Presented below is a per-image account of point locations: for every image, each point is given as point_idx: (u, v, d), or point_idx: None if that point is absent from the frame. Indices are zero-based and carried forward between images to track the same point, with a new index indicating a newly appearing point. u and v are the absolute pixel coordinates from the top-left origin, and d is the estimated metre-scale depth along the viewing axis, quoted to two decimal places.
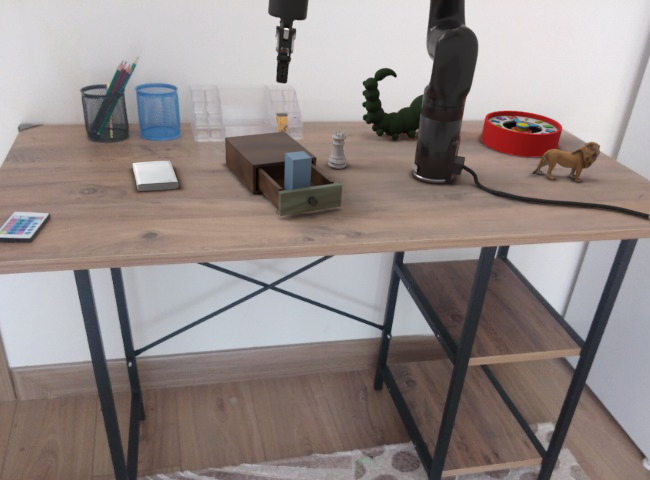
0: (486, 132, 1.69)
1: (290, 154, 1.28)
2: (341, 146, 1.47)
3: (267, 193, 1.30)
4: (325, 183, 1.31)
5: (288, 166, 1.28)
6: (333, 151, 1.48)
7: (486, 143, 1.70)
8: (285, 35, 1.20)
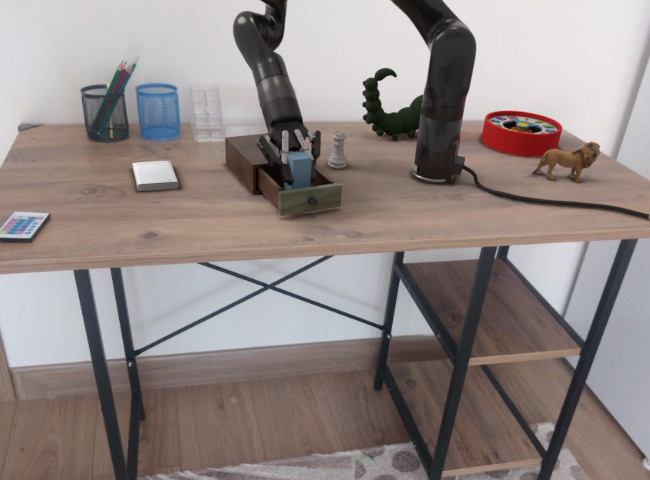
0: (486, 132, 1.69)
1: (290, 154, 1.28)
2: (341, 146, 1.47)
3: (267, 193, 1.30)
4: (325, 183, 1.31)
5: None
6: (333, 151, 1.48)
7: (486, 143, 1.70)
8: (260, 146, 1.28)
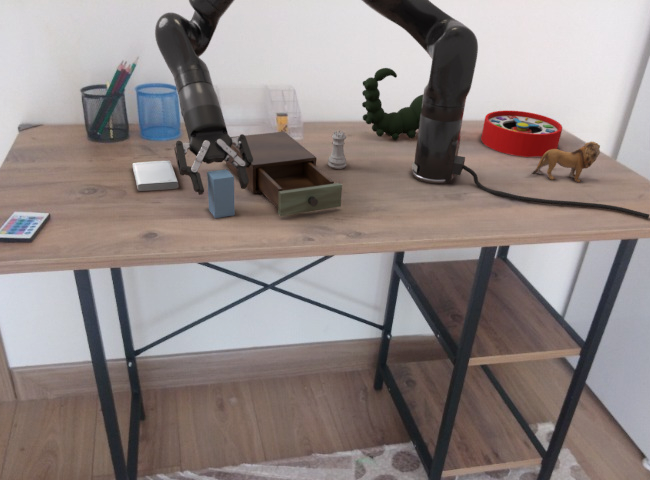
0: (486, 132, 1.69)
1: (212, 173, 1.22)
2: (341, 146, 1.47)
3: (267, 193, 1.30)
4: (325, 183, 1.31)
5: (210, 185, 1.23)
6: (333, 151, 1.48)
7: (486, 143, 1.70)
8: (175, 150, 1.22)
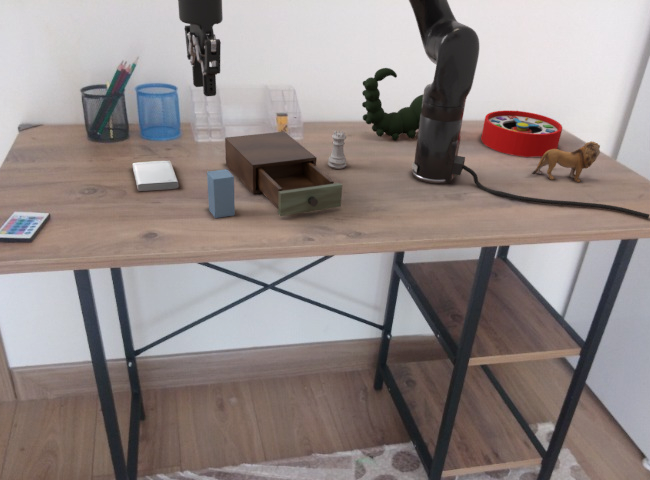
0: (486, 132, 1.69)
1: (212, 173, 1.22)
2: (341, 146, 1.47)
3: (267, 193, 1.30)
4: (325, 183, 1.31)
5: (210, 185, 1.23)
6: (333, 151, 1.48)
7: (486, 143, 1.70)
8: (213, 48, 1.11)
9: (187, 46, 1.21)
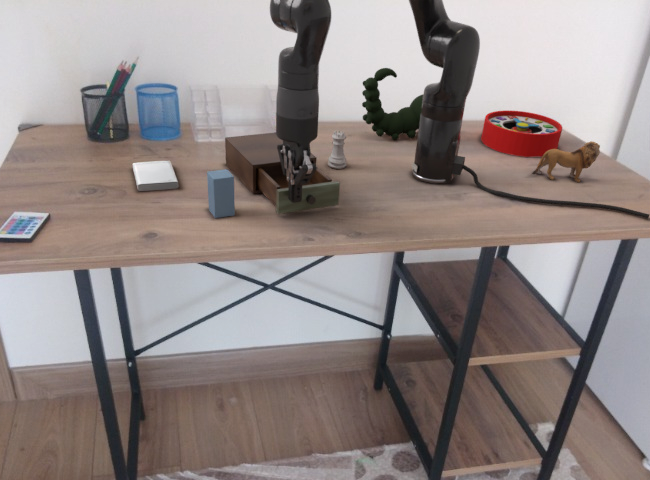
0: (486, 132, 1.69)
1: (212, 173, 1.22)
2: (341, 146, 1.47)
3: (265, 191, 1.31)
4: (323, 181, 1.32)
5: (210, 185, 1.23)
6: (333, 151, 1.48)
7: (486, 143, 1.70)
8: (308, 172, 1.15)
9: (282, 163, 1.22)
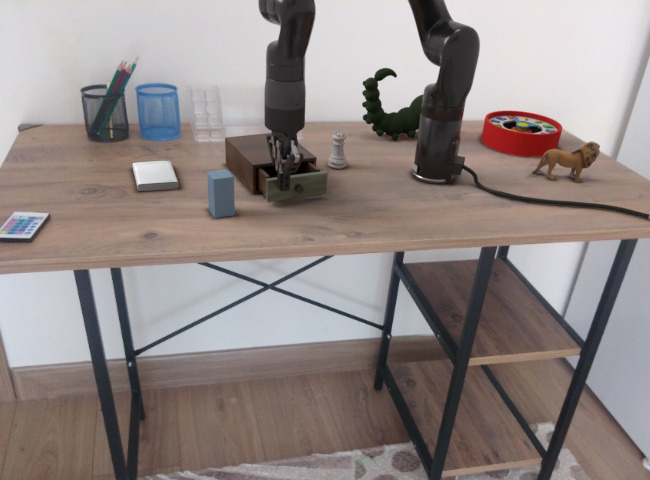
0: (486, 132, 1.69)
1: (212, 173, 1.22)
2: (341, 146, 1.47)
3: None
4: (311, 171, 1.36)
5: (210, 185, 1.23)
6: (333, 151, 1.48)
7: (486, 143, 1.70)
8: (295, 161, 1.19)
9: (271, 153, 1.27)
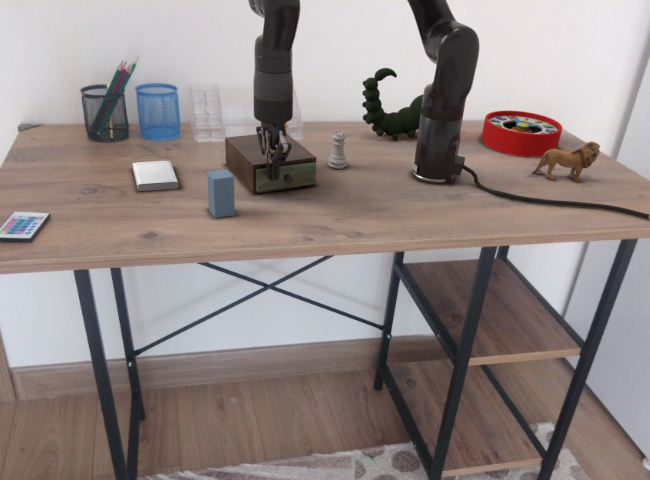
0: (486, 132, 1.69)
1: (212, 173, 1.22)
2: (341, 146, 1.47)
3: None
4: (301, 162, 1.40)
5: (210, 185, 1.23)
6: (333, 151, 1.48)
7: (486, 143, 1.70)
8: (283, 151, 1.24)
9: (260, 143, 1.31)
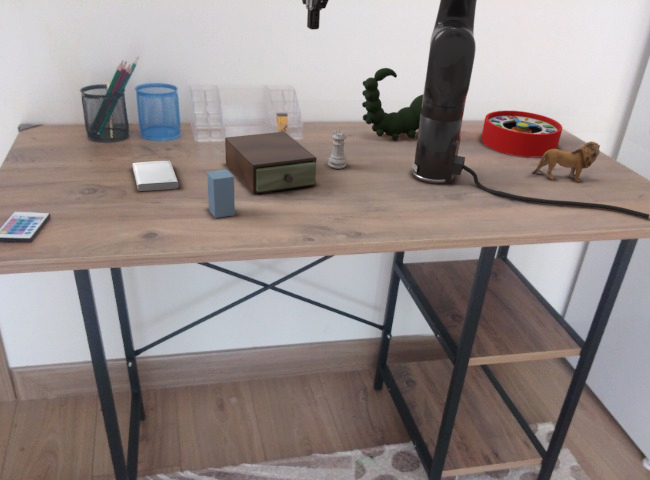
0: (486, 132, 1.69)
1: (212, 173, 1.22)
2: (341, 146, 1.47)
3: None
4: (301, 162, 1.40)
5: (210, 185, 1.23)
6: (333, 151, 1.48)
7: (486, 143, 1.70)
8: None
9: None
